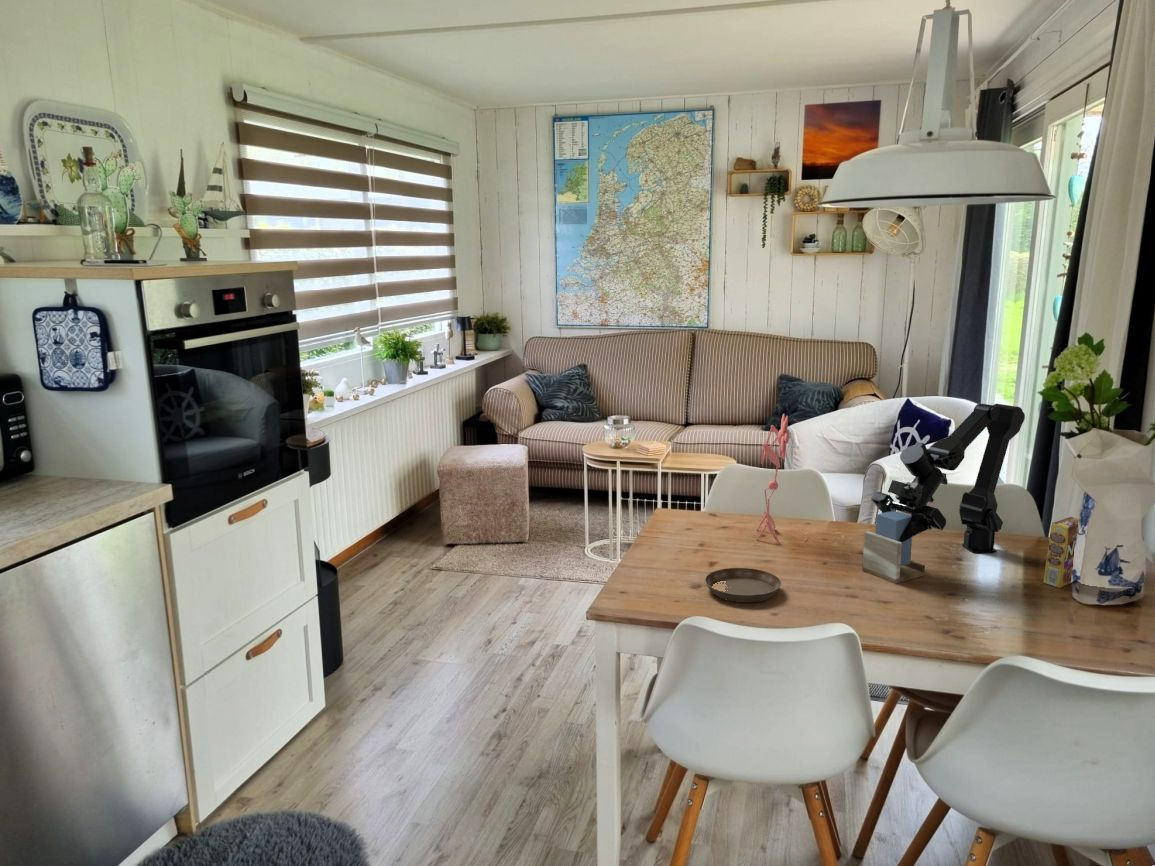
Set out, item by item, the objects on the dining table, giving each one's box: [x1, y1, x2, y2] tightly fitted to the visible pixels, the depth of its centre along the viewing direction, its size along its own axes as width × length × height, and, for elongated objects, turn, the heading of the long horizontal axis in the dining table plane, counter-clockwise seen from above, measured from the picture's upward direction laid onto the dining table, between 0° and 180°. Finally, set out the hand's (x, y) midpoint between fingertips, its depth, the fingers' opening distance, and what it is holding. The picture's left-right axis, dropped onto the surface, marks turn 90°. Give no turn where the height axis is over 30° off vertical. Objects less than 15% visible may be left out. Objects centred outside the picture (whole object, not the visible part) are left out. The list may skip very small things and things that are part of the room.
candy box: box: [1043, 516, 1080, 589], centre depth 199 cm, size 9×4×15 cm, turn 123°
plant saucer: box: [704, 567, 782, 603], centre depth 197 cm, size 18×18×3 cm
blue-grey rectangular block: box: [874, 510, 913, 566], centre depth 206 cm, size 7×6×12 cm
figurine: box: [753, 413, 808, 548], centre depth 232 cm, size 15×26×35 cm, turn 168°
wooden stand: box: [861, 531, 926, 584], centre depth 207 cm, size 10×10×10 cm
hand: (889, 537), depth 205 cm, fingers closed on blue-grey rectangular block, 6 cm apart
